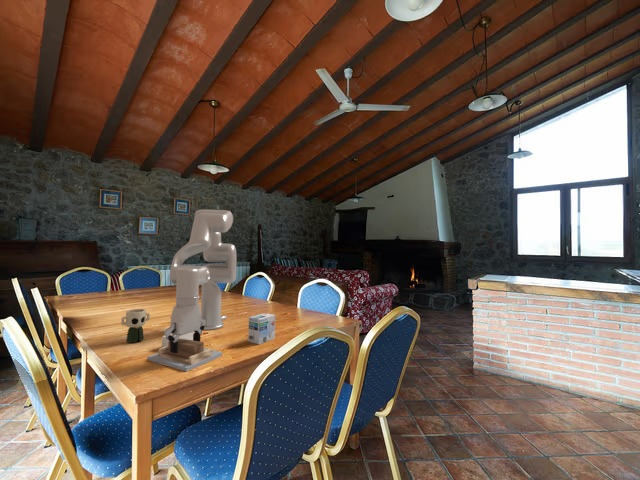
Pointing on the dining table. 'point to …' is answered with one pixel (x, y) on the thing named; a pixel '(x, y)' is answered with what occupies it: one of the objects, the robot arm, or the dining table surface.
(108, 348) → the dining table surface
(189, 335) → the plank
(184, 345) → the brown rectangular block
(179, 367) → the jig board
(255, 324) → the light bulb box
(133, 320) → the character mug
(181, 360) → the cradle
